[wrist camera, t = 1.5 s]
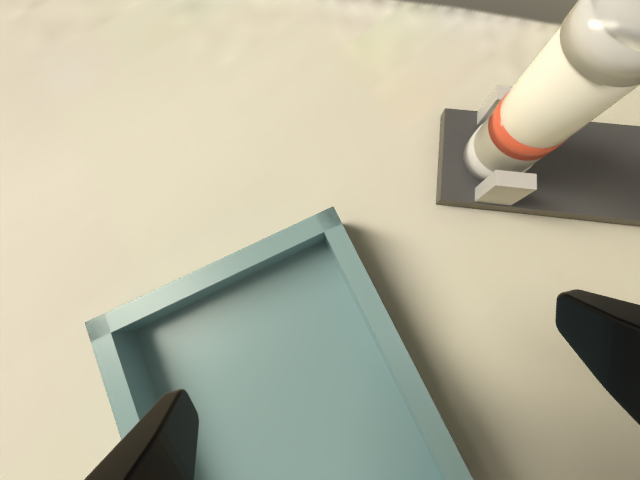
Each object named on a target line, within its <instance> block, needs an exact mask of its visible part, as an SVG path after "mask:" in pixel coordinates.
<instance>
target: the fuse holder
mask: <svg viewBox="0 0 640 480" xmlns="http://www.w3.org/2000/svg"><path fill="white" fill-rule="evenodd" d="M511 89H512V87H510V86H499V85H497V86H496V88H495V89H494V90H493V92H492V93H491V94H490V96H489V97H488V99H487V100H486V101H485V103H484V104H483V106H482V107H481V108H480V110H479V111H468V110H457V109H446V108H445V110H444V111H443V113H442V115H441V123H440V141H439V159H438V177H437V195H436V204H440V205H449V206H459V207H468V208H477V209H486V210H496V211H505V212H514V213H524V214H533V215H542V216H551V217H561V218H570V219H579V220H588V221H598V222H607V223H616V224H625V225H635V226H640V126H630V125H619V124H608V123H597V122H589V123H588V124H586V125H585V126H584V127H582V128H581V129H580V130H578V131H577V132H576V133H574V134H573V135H572V136H570V137H569V138H568V139H567V140H566V141H565V142H564V143H563V144H561V145H560V146H559V147H557V148H556V149H554V150H553V151H552V152H550V153H549V154H548V155H546V156H545V157H543V158H541V159H540V160H538V161H537V162H536V163H534V164H533V165H532V167H531V168H530V169H529V170H527V171H526V172H525V173H523V172H513V171H503V170H495V171H494V172H493V173H491V174H490V175H489V176H488V177H487V178H486V179H485V180H483V181H482V182H479V181H478V180H476V179H475V178H474V177H473V176H472V175H471V174H470V173H469V172H468V171H467V169H466V167H465V164H464V161H463V150H464V147H465V145H466V143H467V141H468V140H469V139H470V138H471V136H472V135H473V134H474V133H475V131H476V130H477V129H478V127H479V126H481V125H482V124H483V123H484V122H485V121H486V120H487V119H488V117H489V116H490V115H491V113H492V111H493V110H494V109H495V107H496V106H497V105H498V103H499V102H500V101H501V100H502V98H503V97H504V96H505V95H506V93H507V92H509V91H510V90H511Z"/></svg>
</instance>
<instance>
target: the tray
mask: <svg viewBox="0 0 640 480" xmlns="http://www.w3.org/2000/svg"><path fill="white" fill-rule="evenodd" d="M85 325H86V328H87V331H88V334H89V338H90V341H91V344H92V347H93V350H94V354H95V357H96V360H97V363H98V366H99V370H100V373H101V376H102V379H103V382H104V386H105V389H106V392H107V395H108V398H109V402H110V405H111V408H112V411H113V414H114V418H115V421H116V424H117V427H118V431H119V434H120V437H121V440H122V439H123V438H124V437H125V436H126V435H127V434H128V433H129V431H130V430H131V429H132V428H133V427H134V426H135V425H136V424H137V423H138V422H139V421H140V420H141V419H142V418H143V417H144V415H145V414H146V413H147V412H148V411H149V410H150V409H151V408H152V407H153V406H154V405H155V404H156V403H157V402H158V401H159V399H160V398H161V397H162V396H163V395H164V394H166V393H168V392H171V391H174V390H178V389H184V390H186V391H187V393H188V395H189V397H190V399H191V401H192V403H193V405H194V407H195V408H196V410H197V413H198V416H199V430H198V441H197V453H196V464H195V476H194V480H473V478H472V476H471V474H470V472H469V470H468V468H467V467H466V465H465V463H464V461H463V459H462V457H461V455H460V453H459V451H458V449H457V447H456V445H455V443H454V441H453V439H452V437H451V435H450V433H449V431H448V429H447V427H446V426H445V424H444V422H443V420H442V418H441V416H440V414H439V412H438V410H437V408H436V406H435V404H434V402H433V400H432V398H431V396H430V394H429V392H428V390H427V388H426V387H425V385H424V383H423V381H422V379H421V377H420V375H419V373H418V371H417V369H416V367H415V365H414V363H413V361H412V359H411V357H410V355H409V353H408V351H407V349H406V347H405V346H404V344H403V342H402V340H401V338H400V336H399V334H398V332H397V330H396V328H395V326H394V324H393V322H392V320H391V318H390V316H389V314H388V312H387V310H386V308H385V307H384V305H383V303H382V301H381V299H380V297H379V295H378V293H377V291H376V289H375V287H374V285H373V283H372V281H371V279H370V277H369V275H368V273H367V271H366V269H365V268H364V266H363V264H362V262H361V260H360V258H359V256H358V254H357V252H356V250H355V248H354V246H353V244H352V242H351V240H350V238H349V236H348V234H347V232H346V230H345V228H344V227H343V225H342V223H341V221H340V219H339V217H338V215H337V213H336V211H335V209H334V207H331V208H329V209H327V210H324V211H322V212H320V213H318V214H316V215H314V216H312V217H309V218H307V219H305V220H303V221H301V222H299V223H297V224H295V225H292V226H290V227H288V228H286V229H284V230H282V231H280V232H277V233H275V234H273V235H271V236H269V237H267V238H265V239H262V240H260V241H258V242H256V243H254V244H252V245H250V246H248V247H245V248H243V249H241V250H239V251H237V252H235V253H233V254H230V255H228V256H226V257H224V258H222V259H220V260H218V261H215V262H213V263H211V264H209V265H207V266H205V267H203V268H201V269H198V270H196V271H194V272H192V273H190V274H188V275H186V276H183V277H181V278H179V279H177V280H175V281H173V282H171V283H168V284H166V285H164V286H162V287H160V288H158V289H156V290H154V291H151V292H149V293H147V294H145V295H143V296H141V297H139V298H136V299H134V300H132V301H130V302H128V303H126V304H124V305H121V306H119V307H117V308H115V309H113V310H111V311H109V312H106V313H104V314H102V315H100V316H98V317H96V318H94V319H92V320H89V321H87V322H85Z"/></svg>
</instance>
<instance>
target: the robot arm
mask: <svg viewBox="0 0 640 480" xmlns="http://www.w3.org/2000/svg"><path fill="white" fill-rule="evenodd" d="M556 326H557V328H558V330H559V332H560V333H561V334H562V336H563V337H564V338H565V340H566V341H567V342H568V343H569V345H570V346H571V347H572V348H573V350H574V351H575V352H576V353H577V355H578V356H579V357H580V358H581V360H582V361H583V362H584V363H585V365H586V366H587V367H588V368H589V370H590V371H591V372H592V373H593V375H594V376H595V377H596V378H597V380H598V381H599V382H600V383H601V384H602V385H603V387H604V388H605V389H606V390H607V391H608V392H609V393H610V394H611V396H612V397H613V398H614V399H615V400H616V401H617V402H618V403H619V404H620V405H621V406H622V407H623V408H624V409H625V410H626V411H627V412H628V413H629V414H630V416H631V417H632V418H633V419H634V420H635V421H636V422H637V423H638V424H639V425H640V305H637V304H633V303H629V302H626V301H622V300H618V299H614V298H610V297H606V296H602V295H598V294H594V293H590V292H586V291H583V290H571V291H567V292H563V293H560V294H559V295H558V297H557V303H556ZM198 430H199V416H198V413H197V410H196V408H195V407H194V405H193V403H192V401H191V399H190V397H189V395H188V393H187V391H186V390H184V389H178V390H174V391H171V392H168V393H166V394H164V395H163V396H162V397H161V398H160V399H159V401H158V402H157V403H156V404H155V405H154V406H153V407H152V408H151V409H150V410H149V411H148V412H147V413H146V414H145V415H144V417H143V418H142V419H141V420H140V421H139V422H138V423H137V424H136V425H135V426H134V427H133V428H132V429H131V430H130V431H129V433H128V434H127V435H126V436H125V437H124V438H123V439H122V440H121V441H120V442H119V443H118V444H117V445H116V446H115V447H114V449H113V450H112V451H111V452H110V453H109V454H108V455H107V456H106V457H105V458H104V459H103V460H102V461H101V462H100V463H99V465H98V466H97V467H96V468H95V469H94V470H93V471H92V472H91V473H90V474H89V475H88V476H87V477H86V478H85V479H84V480H194V476H195V464H196V453H197V441H198Z"/></svg>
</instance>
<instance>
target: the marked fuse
mask: <svg viewBox="0 0 640 480" xmlns="http://www.w3.org/2000/svg"><path fill="white" fill-rule="evenodd" d="M639 85H640V0H579V1H578V2H577V3H576V5H575V6H574V7H573V8H572V10H571V11H570V12H569V13H568V15H567V16H566V17H565V19H564V21H563V23H562V26H561V27H560V28H559V30H558V31H557V32H556V34H555V35H554V36H553V37H552V39H551V40H550V41H549V42H548V44H547V45H546V46H545V47H544V49H543V50H542V51H541V52H540V54H539V55H538V56H537V57H536V59H535V60H534V61H533V62H532V64H531V65H530V66H529V67H528V69H527V70H526V71H525V72H524V74H523V75H522V76H521V77H520V79H519V80H518V81H517V82H516V84H515V85H514V86H513V87H512V89H511V90H510V91H509V92H507V93H506V95H505V96H504V97H503V98H502V100H501V101H500V102H499V103H498V105H497V106H496V107H495V109H494V110H493V111H492V113H491V115H490V116H489V117H488V119H487V120H486V121H485V122H484V123H483V124H482V125H481V126H479V127H478V129H477V130H476V131H475V133H474V134H473V135H472V136H471V138H470V139H469V140H468V141H467V143H466V145H465V147H464V150H463V161H464V164H465V167H466V169H467V171H468V172H469V173H470V174H471V175H472V176H473V177H474V178H475V179H476V180H478V181H479V182H482V181H483V180H485V179H486V178H487V177H488V176H489V175H490V174H491V173H493V172H494V171H495V170H503V171H513V172H523V173H525V172H526V171H527V170H529V169H530V168H531V167H532V165H533V164H534V163H536V162H537V161H538V160H540V159H541V158H543V157H545V156H546V155H548V154H549V153H550V152H552V151H553V150H554V149H556V148H557V147H559V146H560V145H561V144H563V143H564V142H565V141H566V140H567V139H568V138H569V137H570V136H572V135H573V134H574V133H576V132H577V131H578V130H580V129H581V128H582V127H584V126H585V125H586V124H588V123H589V122H591V121H592V120H593V119H595V118H596V117H597V116H599V115H600V114H601V113H603V112H604V111H605V110H607V109H608V108H609V107H611V106H612V105H613V104H615V103H616V102H617V101H619V100H620V99H621V98H623V97H624V96H625V95H627V94H628V93H629V92H631V91H632V90H633V89H635V88H636V87H637V86H639Z"/></svg>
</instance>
